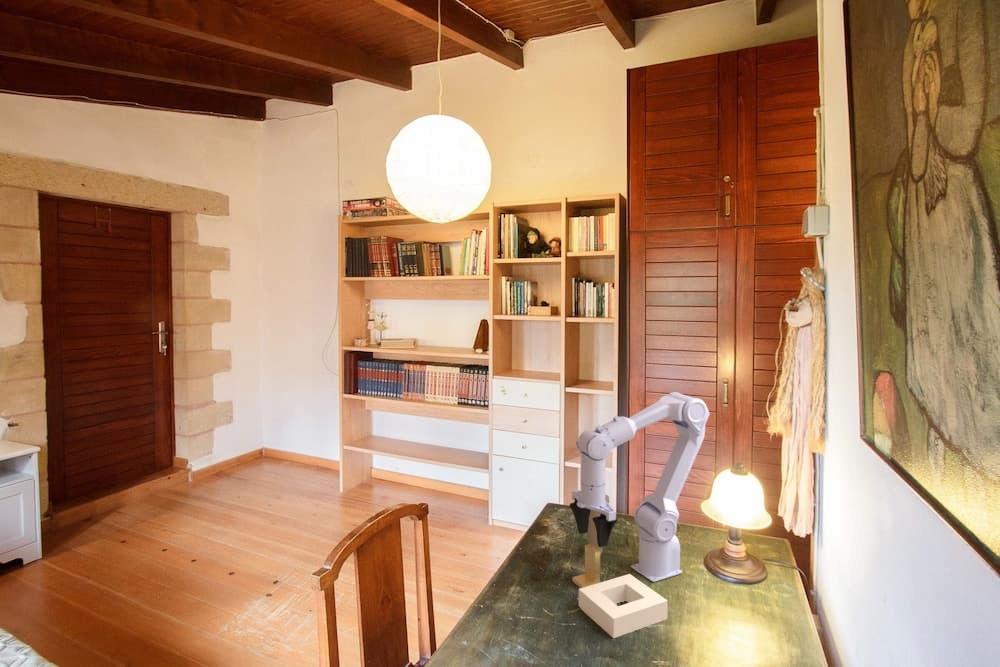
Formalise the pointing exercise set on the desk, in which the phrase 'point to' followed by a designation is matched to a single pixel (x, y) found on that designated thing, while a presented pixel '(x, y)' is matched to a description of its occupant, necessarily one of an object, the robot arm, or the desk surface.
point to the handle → (594, 528)
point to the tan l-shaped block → (589, 568)
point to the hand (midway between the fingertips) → (592, 539)
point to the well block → (625, 618)
